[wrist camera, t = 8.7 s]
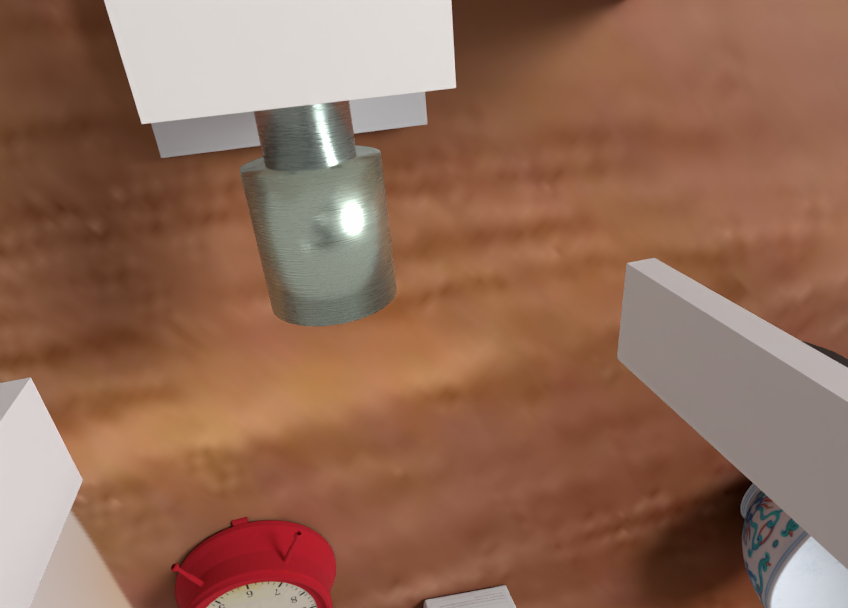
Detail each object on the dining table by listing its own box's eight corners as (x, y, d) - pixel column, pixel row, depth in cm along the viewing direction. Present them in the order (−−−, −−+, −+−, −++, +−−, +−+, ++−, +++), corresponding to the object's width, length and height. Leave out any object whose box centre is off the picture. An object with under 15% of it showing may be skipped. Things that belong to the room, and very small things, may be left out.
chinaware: (670, 522, 47) (738, 601, 40) (801, 397, 44) (897, 460, 38) (747, 571, 54) (816, 646, 47) (864, 466, 51) (955, 530, 45)
